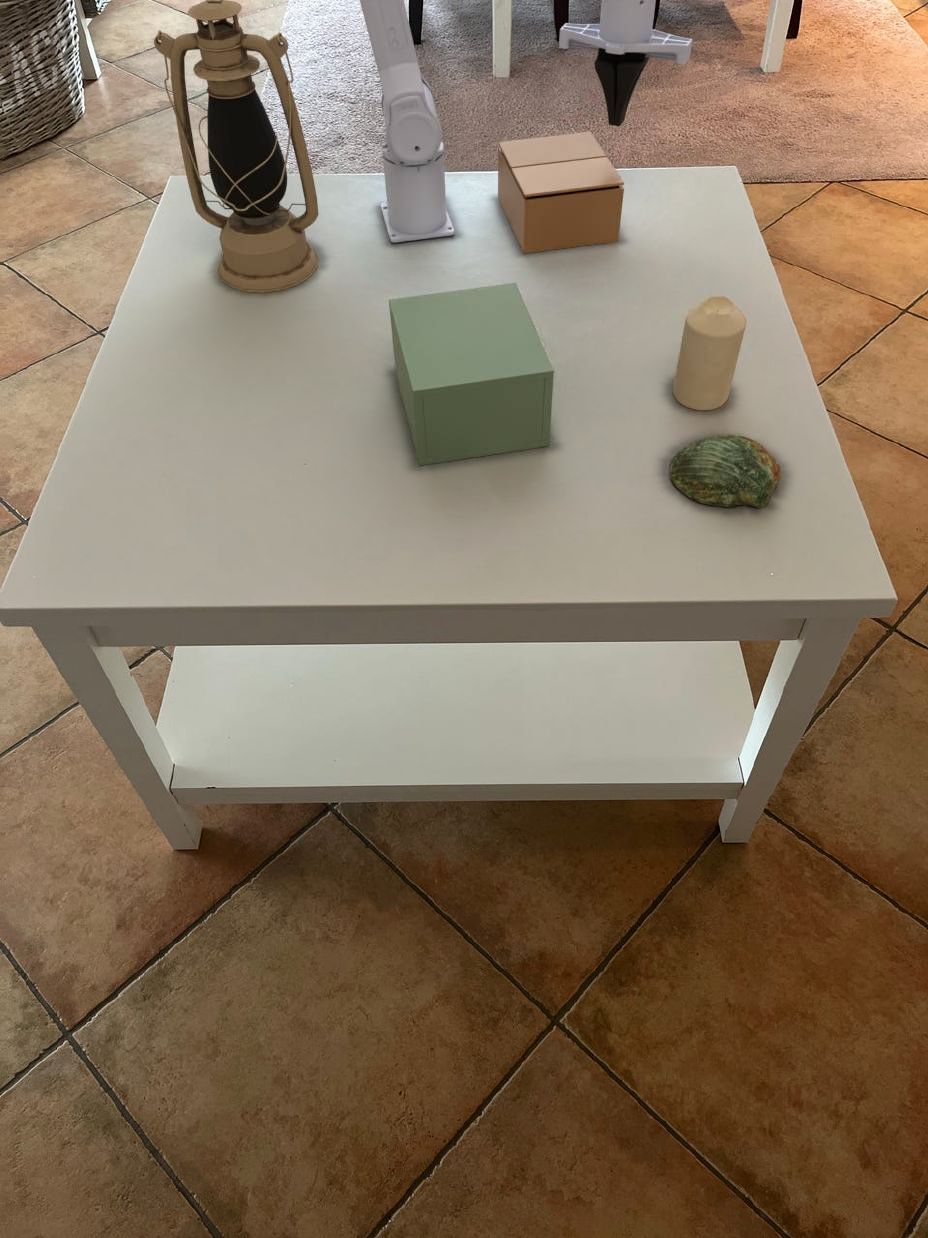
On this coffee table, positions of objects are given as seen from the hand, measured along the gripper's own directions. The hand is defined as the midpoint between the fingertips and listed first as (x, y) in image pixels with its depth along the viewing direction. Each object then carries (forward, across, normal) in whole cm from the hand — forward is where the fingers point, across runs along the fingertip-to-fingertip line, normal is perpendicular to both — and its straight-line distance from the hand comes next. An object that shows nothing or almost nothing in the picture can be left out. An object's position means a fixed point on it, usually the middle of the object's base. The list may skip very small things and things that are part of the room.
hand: (616, 121), depth 107 cm
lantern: (+11, -34, -27) cm, 44 cm away
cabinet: (+10, -1, -43) cm, 44 cm away
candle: (+11, +20, -32) cm, 40 cm away
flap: (+4, -3, -8) cm, 9 cm away
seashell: (+11, +25, -43) cm, 51 cm away
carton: (+10, -5, -5) cm, 13 cm away
